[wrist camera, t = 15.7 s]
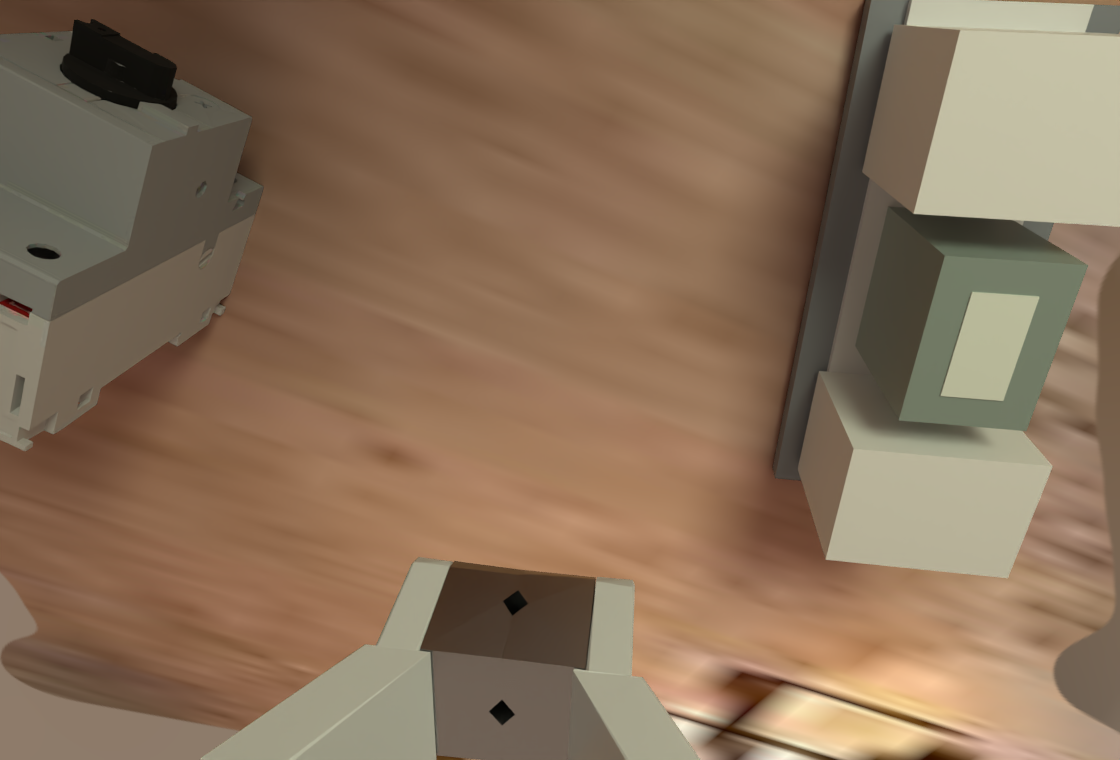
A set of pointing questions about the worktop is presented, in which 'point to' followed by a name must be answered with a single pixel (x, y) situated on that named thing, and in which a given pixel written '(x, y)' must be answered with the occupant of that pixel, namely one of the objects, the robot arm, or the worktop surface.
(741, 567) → the worktop surface
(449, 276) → the worktop surface
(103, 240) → the circuit breaker
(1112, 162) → the rail base
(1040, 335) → the block
